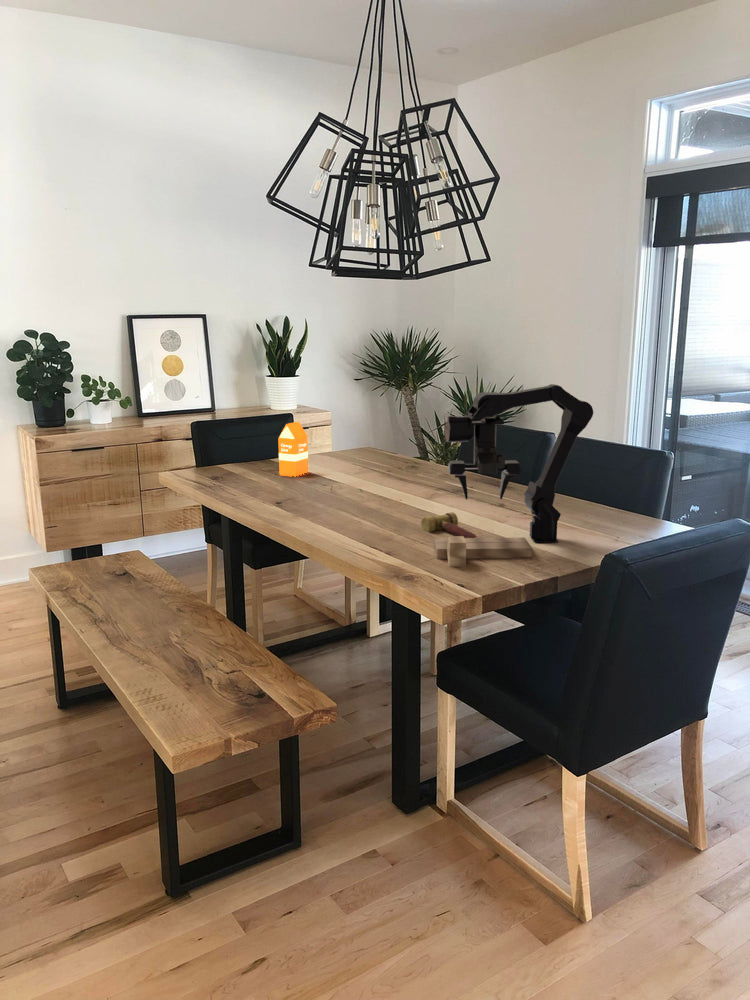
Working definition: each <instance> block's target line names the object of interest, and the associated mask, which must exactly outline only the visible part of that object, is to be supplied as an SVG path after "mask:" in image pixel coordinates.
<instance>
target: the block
mask: <svg viewBox="0 0 750 1000" xmlns="http://www.w3.org/2000/svg"><path fill="white" fill-rule="evenodd" d="M446 538H447V562H448V566H449V567H466V566H467V565H466V564H467V558H466V541H465V539H464V536H456V535H451V536H450V535H449V536H447V537H446Z"/></svg>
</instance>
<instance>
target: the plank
mask: <svg viewBox="0 0 750 1000" xmlns="http://www.w3.org/2000/svg"><path fill="white" fill-rule="evenodd" d="M464 539H465V541H466V559H514V558H513V557H532V558H533V547H532V546H531V544H530V543H529V541H528V540H527V538H526V537H477V538H464ZM433 548H434V552H435V556H436V559H437V560H438V559H439V560H440V559H441V560H442V559H445V560H446V559H447V537H446V538H445V537H441V538H439V537H438V538H434V539H433ZM510 557H511V558H510Z"/></svg>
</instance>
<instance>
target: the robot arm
mask: <svg viewBox="0 0 750 1000" xmlns="http://www.w3.org/2000/svg"><path fill="white" fill-rule="evenodd" d="M547 402H553V403H554V404H555V405H556V406H557V407H558V408H560V409H561V410H562V415H561V420H560V422H561V423H560V431H559V433H558V435H557V437H556V440H555V443H554V444H553V447H552V449H551V451H550V453H549V456H548V458H547V460H546V462H545V465H544V467H543V469H542V472H541V474H540V477H539V478H538V479H537V480H536V481H535V482H533V481H531V480H530V481H529V482H528V485H527V489H526V491H525V492H524V493H523V495H524V503H525V506H526V507H527V509H529V510H530V512H531V515H533V516H532V519H531V521H530V522H529V537H530V538H531V539H532V541H533V543H559V540H558V538H557V537H558V521H559V520H560V517H561V512H560V511H559V510H558V509H556V508H555V506H553V505H554V502H555V497H556V485H557V482H558V480H559V478H560V475H561V473H562V472H563V468H564V467H565V464H566V462H567V460H568V457H569V455H570V453H571V451H572V448H573V446H574V444H575V442H576V440H577V437H578V436H579V435H580V433H582V432H583V430H585V428H586V427H587V426H588V424H589V423H590V421H591V420H592V418H593V416H594V408H593V406H592V405H591V404H590V403H589V402H588V401H584V400H581V399H578V398H577V397H575V396H574V395H572V394H571V393H570V392H569V391H567V390H565V389H563V387H562V386H560V385H558V384H552V383H551V384H547V385H545V386H544V385H543V386H539V387H533V388H527V389H522V390H516V391H511V392H496V391H495V392H494V391H493V392H489V391H488V392H487V391H486V392H485V391H482V392H479V393H477V394H476V395H475V396H474V397H473V401H472V405H471V406H470V408H469V409H468V410H467V412H466V413H465V415H464V416H462V415H461V416H459V415H458V416H455V415H447V420H446V424H445V428H444V436H445V441H446V443H463V442H465V443H466V442H467V443H468V442H469V441H470V440H471V439H473V463H465V461H464V460H449V461H448V463H447V467H448V469H447V471H448V473H449V475H453V476H454V478H457V479H458V480H459V482H460V485H461V490H462V492H463V495H464V498H465V500H466V501H467V500H468V484H467V475H466V472H472V471H473V472H478V473H479V474H481V475H485V474H492V475H496V474H498V471H500V472H501V475H500V476H501V477H500V486H499V487H500V488H499V499H500V500H503V497H504V494H505V492H506V489H507V488H508V485H509V483H510V481H511V480H512V479H513V478H516V477H517V475H521V474H522V464H520V462H519V461H517V459H516V460H515V459H513V460H512V459H511V460H509V459H507V460H506V455H505V454H503V453H502V454H501V453H500V454H497V448H496V447H497V425H504V424H505V420H503V419H502V418H501V417H500V415H499V414H501V413H504V412H505V411H507V410H510V409H513V408H517V407H518V408H519V407H524V406H530V405H535V404H540V403H547Z"/></svg>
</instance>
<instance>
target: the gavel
mask: <svg viewBox="0 0 750 1000" xmlns="http://www.w3.org/2000/svg"><path fill="white" fill-rule="evenodd" d="M458 524H459V518H458V517H457V515H456V512H447V513H445V514H440V515H434V516H432V515H426V516H423V517H422V518H421V522H420V525H421V529H422V530H424V531H423V532H425V533H431V532H434V531H437V530H438V531H439V530H443V529H444V530H445V531H447V533H450V534H452V535H453V536H464V538H478V537H477V535H476V534H475V533H473V532H470V531H469V530H466V529H464V528H462V527H460V526H458Z"/></svg>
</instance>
